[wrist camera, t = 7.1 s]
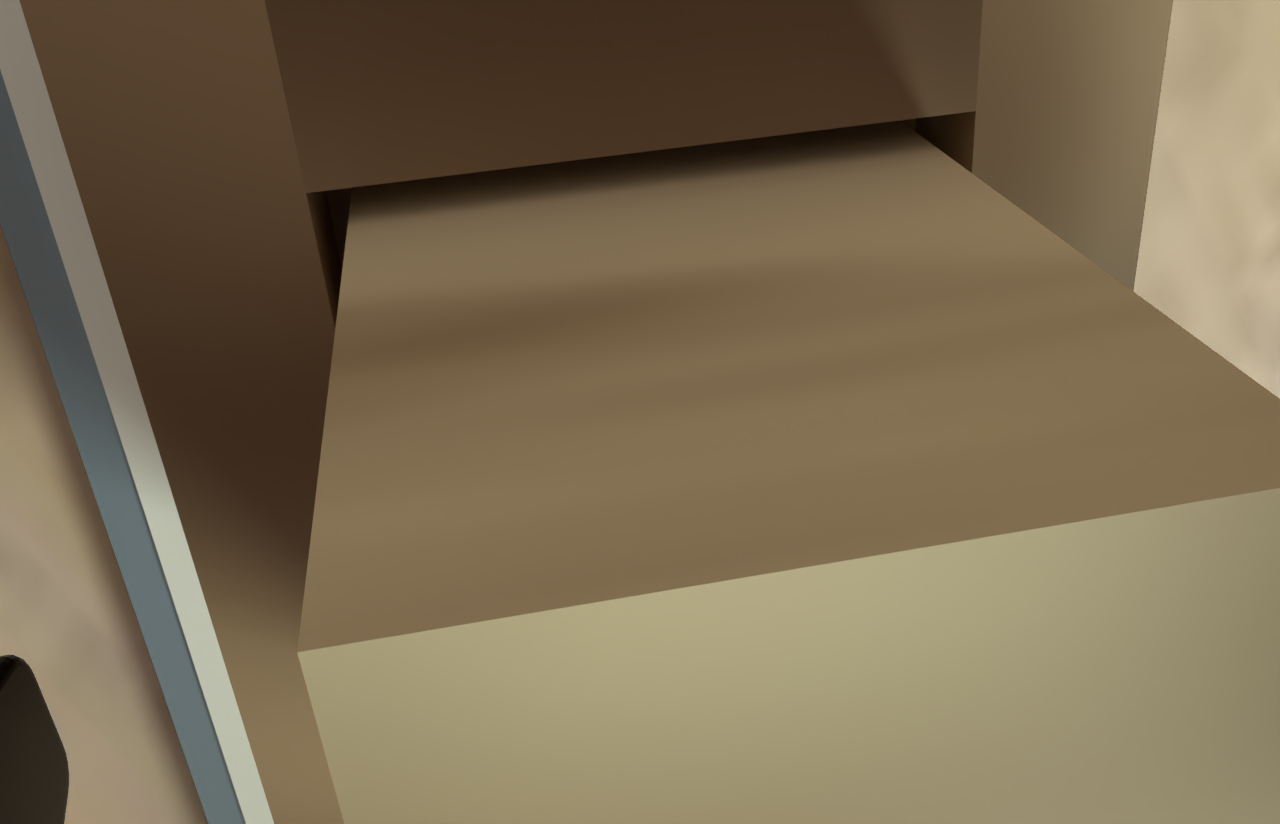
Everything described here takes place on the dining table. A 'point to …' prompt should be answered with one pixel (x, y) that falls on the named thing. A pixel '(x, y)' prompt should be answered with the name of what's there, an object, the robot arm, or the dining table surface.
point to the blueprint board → (115, 432)
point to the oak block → (780, 507)
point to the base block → (475, 142)
